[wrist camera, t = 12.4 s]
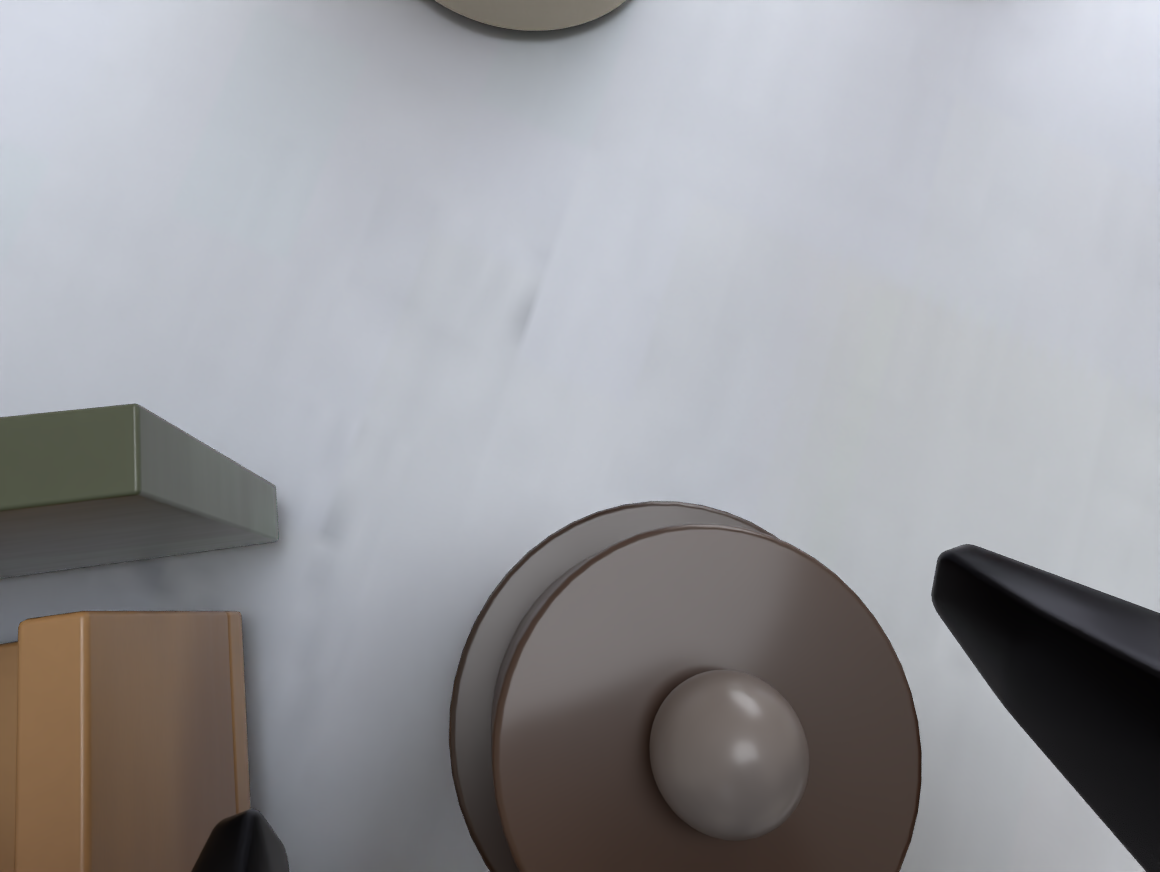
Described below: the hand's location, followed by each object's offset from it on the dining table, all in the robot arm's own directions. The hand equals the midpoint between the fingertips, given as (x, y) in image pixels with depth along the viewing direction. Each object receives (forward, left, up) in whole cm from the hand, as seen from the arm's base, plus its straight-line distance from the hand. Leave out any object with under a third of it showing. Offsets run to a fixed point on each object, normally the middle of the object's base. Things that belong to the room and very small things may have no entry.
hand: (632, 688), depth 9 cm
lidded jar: (0, 0, -7) cm, 7 cm away
